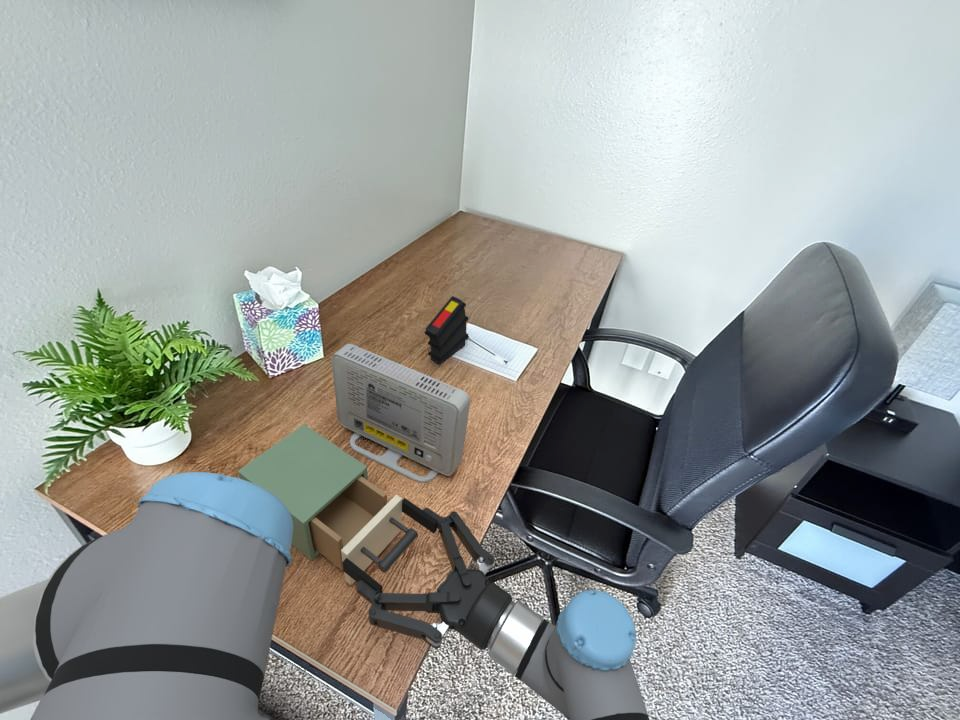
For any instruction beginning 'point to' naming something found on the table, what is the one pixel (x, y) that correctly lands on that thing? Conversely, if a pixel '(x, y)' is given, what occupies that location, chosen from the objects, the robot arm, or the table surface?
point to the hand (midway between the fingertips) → (375, 532)
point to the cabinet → (304, 478)
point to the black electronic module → (447, 330)
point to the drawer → (360, 528)
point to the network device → (400, 412)
